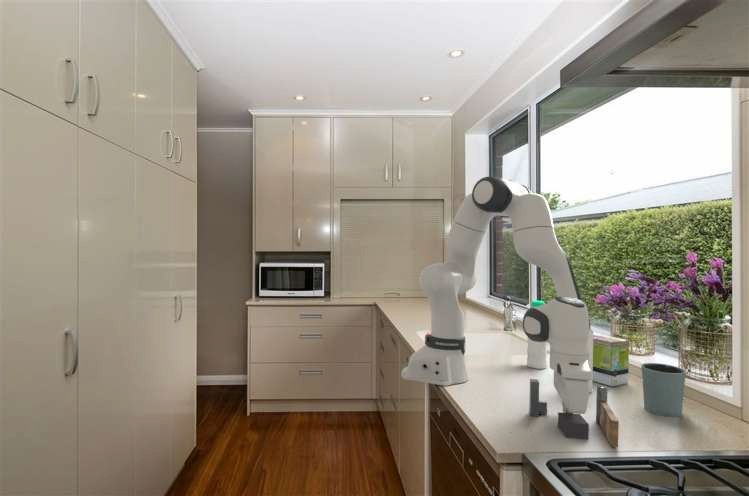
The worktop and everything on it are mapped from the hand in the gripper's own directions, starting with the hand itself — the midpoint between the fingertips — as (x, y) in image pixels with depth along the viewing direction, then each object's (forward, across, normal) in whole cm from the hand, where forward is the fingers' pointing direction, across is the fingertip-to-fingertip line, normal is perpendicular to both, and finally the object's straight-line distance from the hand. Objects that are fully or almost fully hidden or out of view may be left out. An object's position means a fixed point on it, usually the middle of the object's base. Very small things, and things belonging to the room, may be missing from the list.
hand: (567, 418), depth 102 cm
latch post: (+2, -5, -6) cm, 8 cm away
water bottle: (+2, -54, 0) cm, 54 cm away
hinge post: (+2, -4, +9) cm, 10 cm away
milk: (+2, -29, +9) cm, 31 cm away
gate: (+1, +4, +8) cm, 9 cm away
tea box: (+2, -45, +19) cm, 49 cm away
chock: (+2, +4, 0) cm, 5 cm away
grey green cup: (+2, -18, +28) cm, 33 cm away
